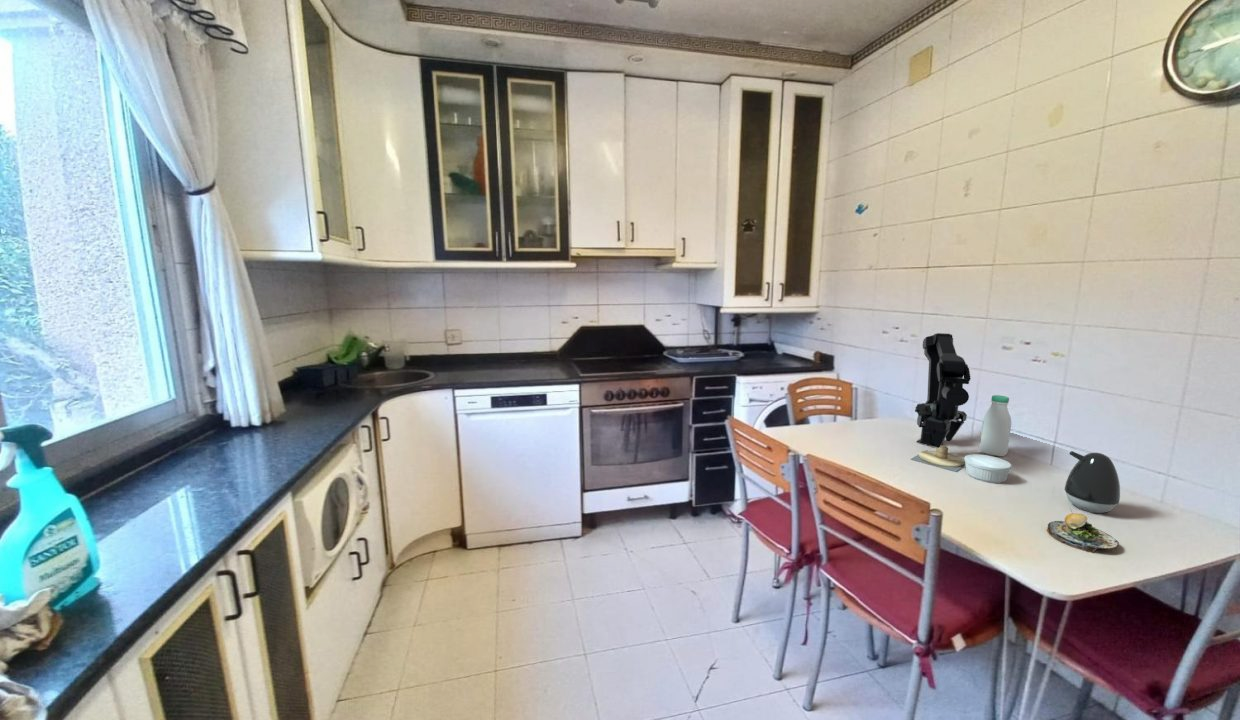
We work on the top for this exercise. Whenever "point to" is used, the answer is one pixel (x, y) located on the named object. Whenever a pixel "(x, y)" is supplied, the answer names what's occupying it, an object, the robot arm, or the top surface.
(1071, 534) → the oval plate with food
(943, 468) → the mat
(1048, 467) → the top surface
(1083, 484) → the pump dispenser
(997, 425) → the milk bottle
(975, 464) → the ramekin
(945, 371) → the robot arm
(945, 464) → the lid
